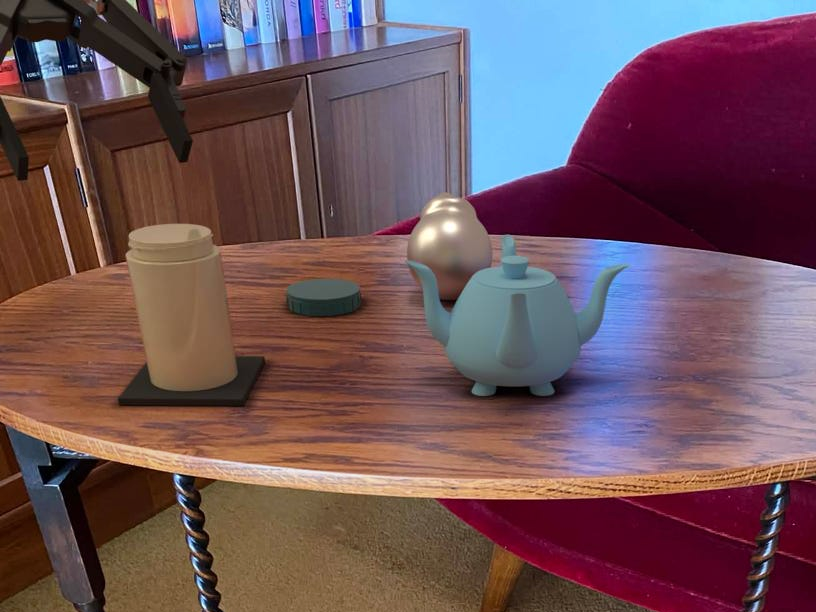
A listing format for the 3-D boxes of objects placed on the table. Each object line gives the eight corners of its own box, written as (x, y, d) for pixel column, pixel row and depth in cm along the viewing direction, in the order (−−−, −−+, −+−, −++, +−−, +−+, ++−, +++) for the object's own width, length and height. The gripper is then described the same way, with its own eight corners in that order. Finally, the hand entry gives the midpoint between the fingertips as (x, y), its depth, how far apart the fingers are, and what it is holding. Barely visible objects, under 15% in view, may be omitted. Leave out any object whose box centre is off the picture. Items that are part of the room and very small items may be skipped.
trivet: (118, 405, 77) (117, 398, 77) (152, 361, 85) (151, 355, 85) (243, 406, 77) (242, 399, 77) (265, 362, 85) (264, 356, 85)
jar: (139, 391, 78) (109, 244, 71) (163, 360, 84) (136, 221, 77) (228, 392, 78) (206, 244, 71) (245, 361, 84) (226, 222, 77)
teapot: (405, 380, 82) (400, 257, 76) (511, 343, 90) (513, 229, 84) (515, 422, 75) (519, 290, 69) (620, 379, 83) (631, 256, 77)
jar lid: (367, 295, 102) (366, 279, 101) (353, 318, 96) (352, 300, 95) (297, 293, 102) (295, 277, 101) (279, 315, 96) (277, 298, 95)
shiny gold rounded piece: (501, 288, 105) (504, 189, 99) (480, 314, 97) (480, 208, 91) (422, 282, 106) (420, 183, 100) (395, 306, 99) (390, 202, 93)
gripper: (140, -29, 89) (236, 173, 88) (-162, -27, 76) (-52, 208, 76) (152, -103, 83) (256, 115, 82) (-176, -114, 70) (-56, 142, 69)
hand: (108, 160), depth 79 cm, fingers open, 13 cm apart
